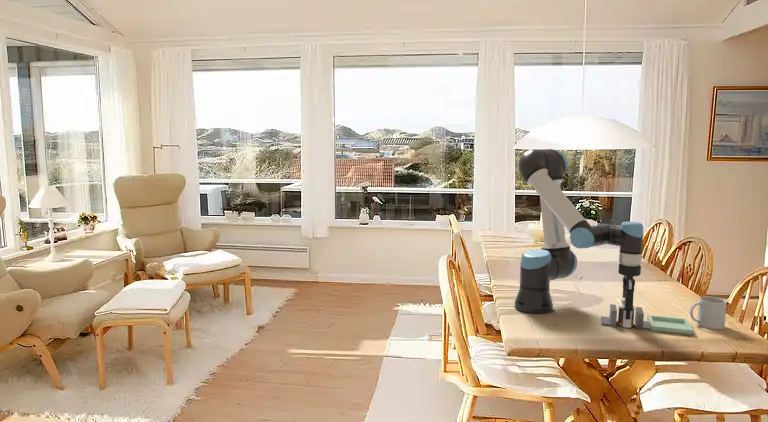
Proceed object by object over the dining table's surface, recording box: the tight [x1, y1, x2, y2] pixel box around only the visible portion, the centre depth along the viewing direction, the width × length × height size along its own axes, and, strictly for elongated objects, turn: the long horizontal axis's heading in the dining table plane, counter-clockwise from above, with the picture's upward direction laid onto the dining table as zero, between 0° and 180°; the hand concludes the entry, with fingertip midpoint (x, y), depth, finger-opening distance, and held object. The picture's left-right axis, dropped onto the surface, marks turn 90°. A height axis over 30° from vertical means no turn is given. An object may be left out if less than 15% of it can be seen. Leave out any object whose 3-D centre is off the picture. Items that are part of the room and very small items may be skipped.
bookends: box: [600, 303, 652, 332], centre depth 208 cm, size 17×8×6 cm, turn 71°
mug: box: [689, 295, 728, 330], centre depth 208 cm, size 11×10×10 cm
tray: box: [646, 314, 694, 337], centre depth 205 cm, size 13×13×2 cm
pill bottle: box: [617, 298, 636, 327], centre depth 208 cm, size 5×5×10 cm
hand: (626, 323), depth 208 cm, fingers open, 7 cm apart
